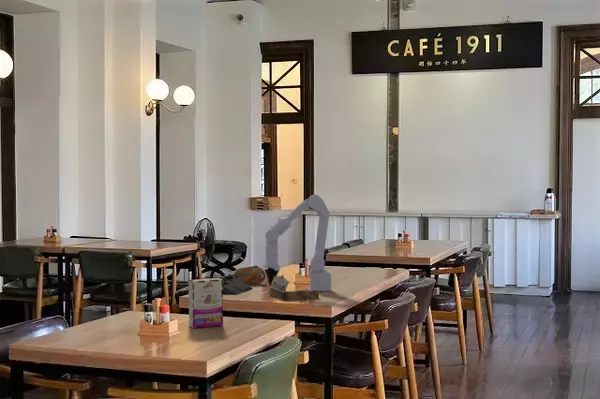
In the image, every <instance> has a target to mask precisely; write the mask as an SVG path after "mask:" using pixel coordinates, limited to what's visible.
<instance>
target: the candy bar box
mask: <svg viewBox="0 0 600 399" xmlns="http://www.w3.org/2000/svg"><path fill="white" fill-rule="evenodd" d="M223 283H224V281H223V279H222V278H220V277H214V278H213V277H211V278H200V279H199V278H198V279H189V280H188V327H190V328H192V329H204V328H214V327H215V328H216V327H222V326H223V325H224V303H223V302H224V294H223Z"/></svg>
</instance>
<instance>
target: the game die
mask: <svg viewBox="0 0 600 399" xmlns="http://www.w3.org/2000/svg"><path fill="white" fill-rule="evenodd" d="M273 277H274V278H273V281H272V283H271V285H269V284H268V286H269V287H274V288H277V289H280V290H283V291H285V292H287V288H288V285H289V284H290V283H291V281H288V280H287V279H286V277H284V274H282V275H278V276H274V275H273Z"/></svg>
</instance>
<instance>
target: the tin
mask: <svg viewBox="0 0 600 399" xmlns="http://www.w3.org/2000/svg"><path fill="white" fill-rule="evenodd" d="M233 279H236V280H239V281H242V282H244V283H245V284H246V285H248V286H255V285H261V284H262V283H264V282H265V279H266V272H265V270H264V269H263V268H261V267H257V266H256V267H255V266H253V267H252V266H251V267H239V268H238V269H236V270H235V272H234V274H233Z"/></svg>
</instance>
